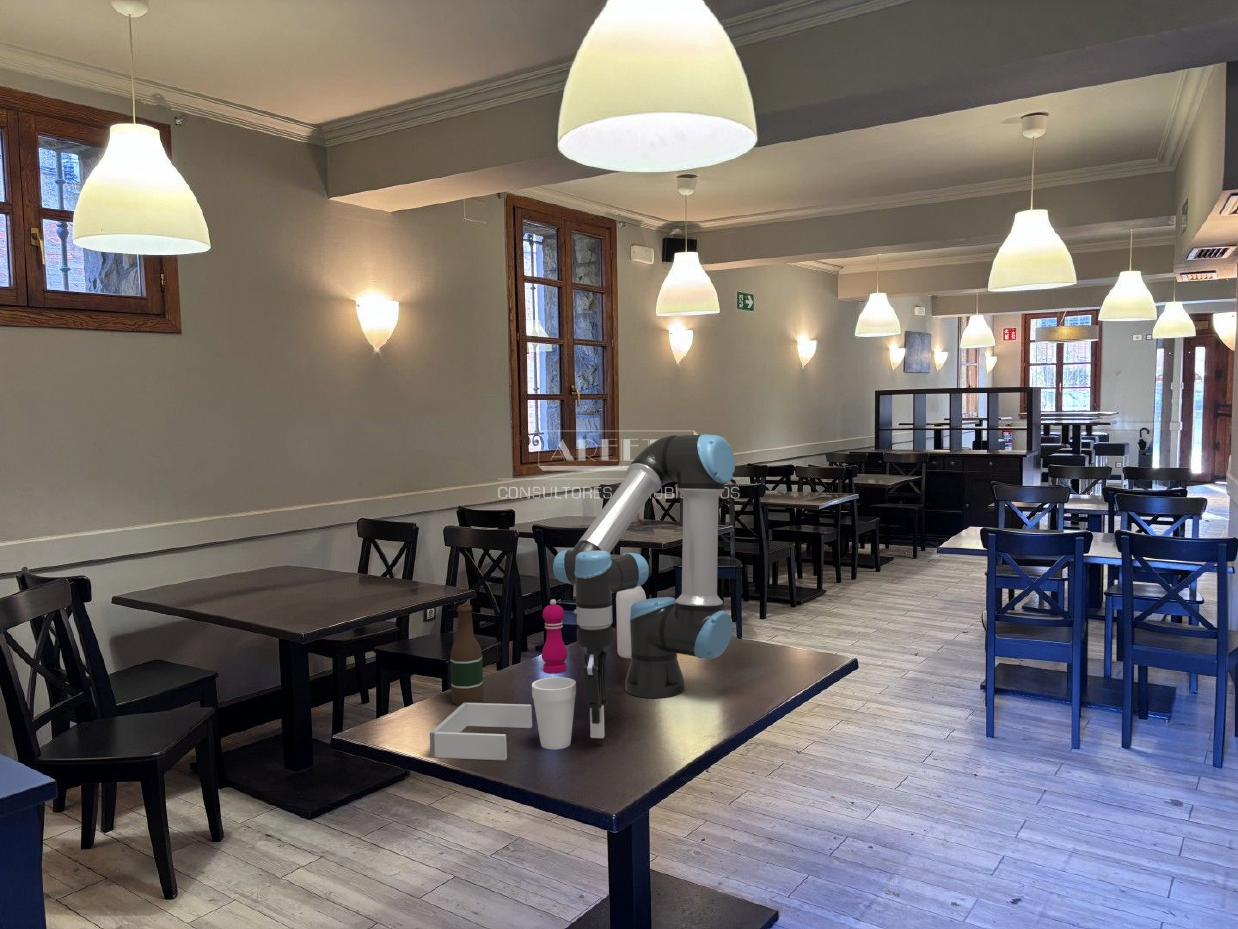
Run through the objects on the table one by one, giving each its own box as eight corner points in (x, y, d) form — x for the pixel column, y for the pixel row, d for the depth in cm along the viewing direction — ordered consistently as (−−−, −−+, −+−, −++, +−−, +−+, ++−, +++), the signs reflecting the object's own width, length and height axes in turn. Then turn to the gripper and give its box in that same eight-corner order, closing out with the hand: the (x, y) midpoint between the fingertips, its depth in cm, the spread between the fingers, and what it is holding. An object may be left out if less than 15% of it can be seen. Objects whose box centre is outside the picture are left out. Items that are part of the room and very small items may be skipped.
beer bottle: (468, 708, 207) (465, 610, 206) (445, 703, 211) (441, 607, 210) (490, 699, 214) (487, 604, 213) (466, 695, 218) (463, 601, 217)
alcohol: (620, 660, 248) (618, 556, 247) (614, 652, 256) (612, 552, 255) (650, 657, 249) (647, 555, 248) (643, 650, 258) (641, 551, 257)
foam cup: (534, 737, 186) (532, 678, 186) (576, 735, 187) (575, 676, 186) (533, 753, 177) (531, 691, 176) (578, 751, 178) (576, 689, 177)
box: (532, 726, 193) (531, 704, 193) (505, 760, 173) (504, 736, 173) (464, 724, 196) (463, 702, 196) (430, 757, 176) (429, 733, 176)
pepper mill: (564, 674, 234) (562, 602, 233) (538, 673, 236) (536, 601, 235) (570, 667, 241) (568, 596, 240) (546, 666, 243) (544, 596, 242)
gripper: (583, 618, 186) (586, 725, 187) (570, 632, 174) (573, 747, 174) (617, 619, 185) (620, 726, 186) (606, 633, 172) (609, 748, 173)
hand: (597, 736), depth 180 cm, fingers closed
